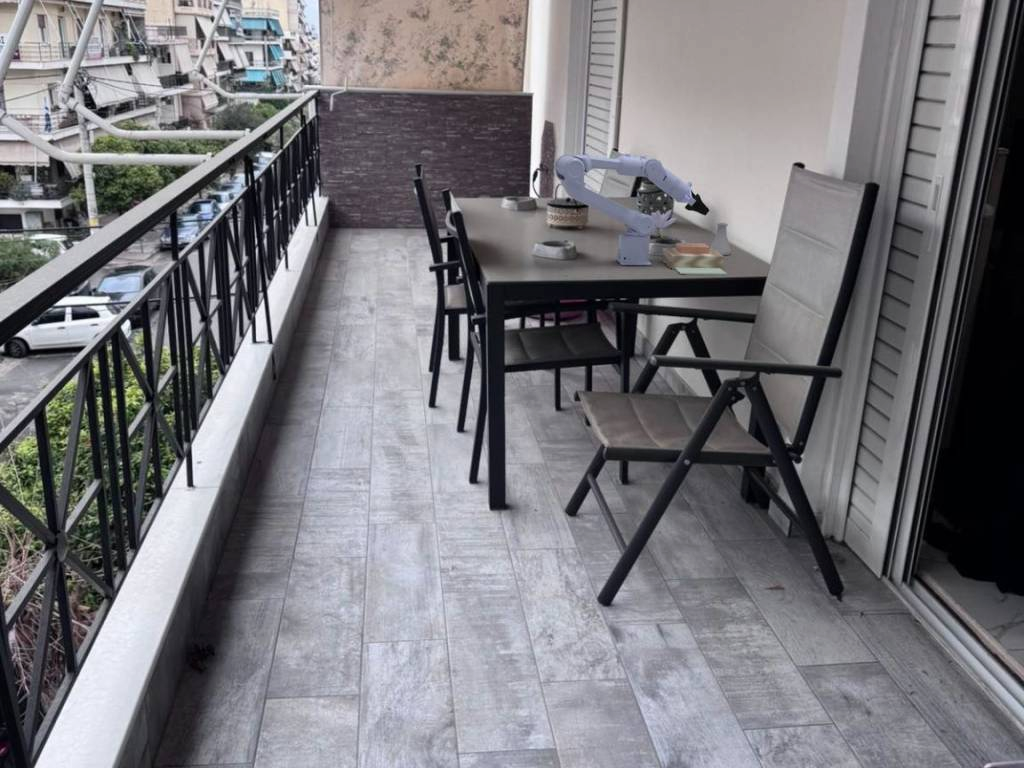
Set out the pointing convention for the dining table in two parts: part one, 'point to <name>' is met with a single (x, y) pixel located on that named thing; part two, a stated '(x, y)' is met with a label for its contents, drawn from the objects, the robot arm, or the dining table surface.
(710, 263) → the plate
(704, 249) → the tile
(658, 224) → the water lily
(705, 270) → the mat
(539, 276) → the dining table surface
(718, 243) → the flask
